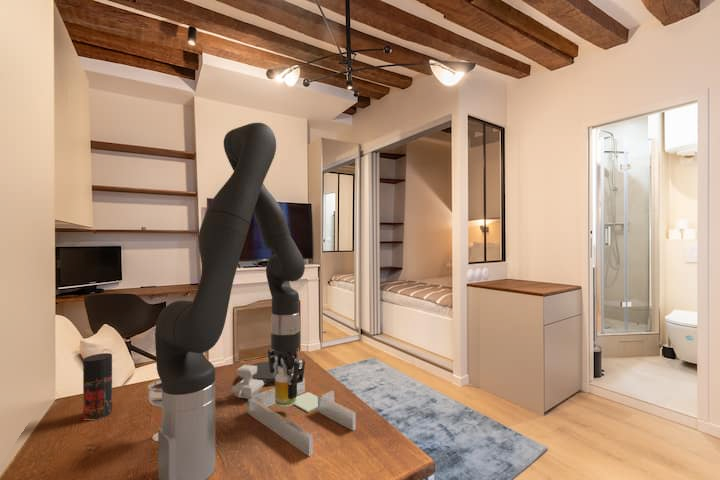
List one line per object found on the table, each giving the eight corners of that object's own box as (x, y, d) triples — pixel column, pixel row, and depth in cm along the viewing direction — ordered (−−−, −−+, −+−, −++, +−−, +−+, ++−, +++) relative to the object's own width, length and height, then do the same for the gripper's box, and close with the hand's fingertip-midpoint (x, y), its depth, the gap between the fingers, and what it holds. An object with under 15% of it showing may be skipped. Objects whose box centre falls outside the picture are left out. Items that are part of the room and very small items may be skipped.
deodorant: (78, 417, 86) (78, 358, 86) (104, 407, 91) (104, 352, 91) (90, 422, 83) (90, 362, 83) (116, 412, 88) (116, 355, 89)
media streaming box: (290, 368, 119) (290, 360, 119) (283, 386, 105) (283, 376, 105) (248, 369, 118) (248, 361, 118) (236, 387, 104) (236, 378, 104)
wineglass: (151, 429, 80) (151, 379, 80) (183, 424, 82) (183, 375, 82) (144, 446, 74) (144, 391, 74) (179, 439, 76) (179, 386, 76)
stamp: (249, 404, 92) (249, 374, 92) (228, 401, 94) (228, 371, 94) (266, 390, 101) (266, 362, 101) (247, 388, 103) (247, 360, 103)
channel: (309, 456, 70) (309, 437, 70) (247, 413, 88) (247, 397, 88) (366, 422, 83) (366, 406, 83) (303, 390, 101) (303, 377, 101)
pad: (308, 412, 88) (308, 411, 88) (288, 401, 94) (288, 400, 94) (328, 403, 93) (328, 401, 93) (308, 393, 99) (308, 391, 99)
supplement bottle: (291, 408, 85) (291, 370, 85) (271, 406, 86) (271, 368, 86) (299, 398, 90) (299, 362, 90) (280, 397, 91) (280, 361, 91)
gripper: (258, 327, 90) (258, 390, 90) (289, 338, 80) (289, 408, 80) (282, 322, 96) (282, 382, 95) (314, 331, 86) (314, 398, 85)
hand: (285, 393), depth 88 cm, fingers closed on supplement bottle, 5 cm apart
